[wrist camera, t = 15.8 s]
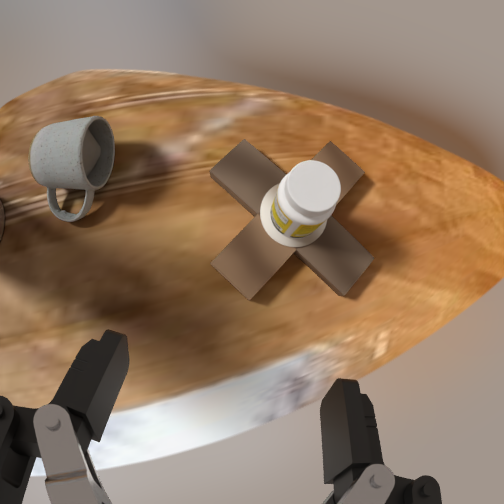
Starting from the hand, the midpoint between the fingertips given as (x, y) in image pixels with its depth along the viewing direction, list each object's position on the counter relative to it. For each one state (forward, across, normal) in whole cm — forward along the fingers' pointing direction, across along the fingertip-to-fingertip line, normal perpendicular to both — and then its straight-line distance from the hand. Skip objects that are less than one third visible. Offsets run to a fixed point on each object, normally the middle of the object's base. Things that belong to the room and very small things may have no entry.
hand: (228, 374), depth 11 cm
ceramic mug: (+23, +20, +3) cm, 31 cm away
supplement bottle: (+21, -4, +2) cm, 21 cm away
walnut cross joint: (+22, -4, +3) cm, 23 cm away
